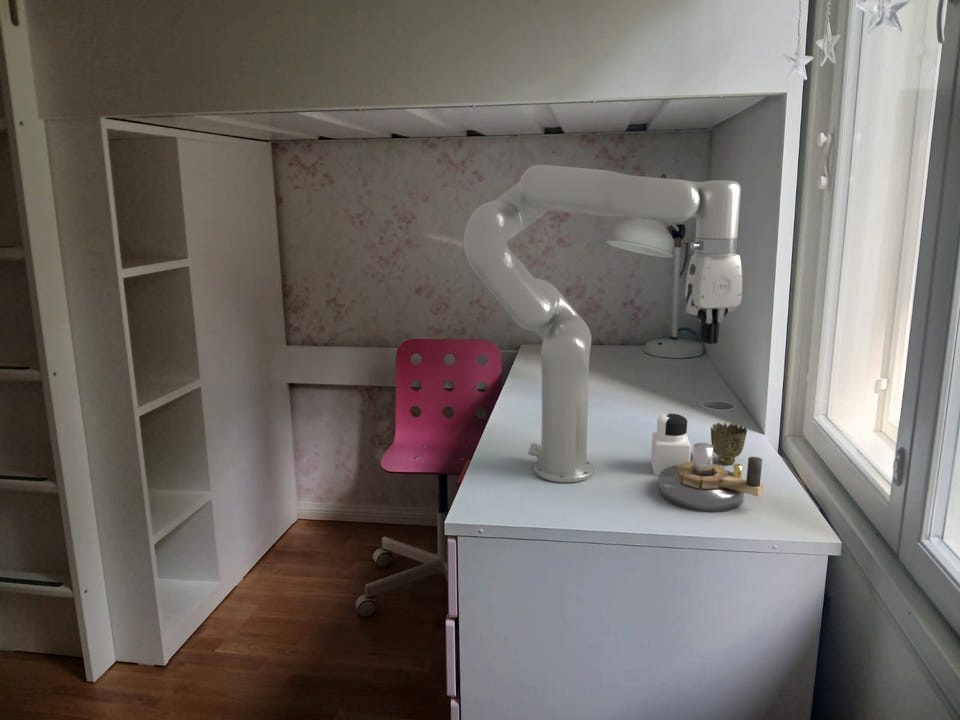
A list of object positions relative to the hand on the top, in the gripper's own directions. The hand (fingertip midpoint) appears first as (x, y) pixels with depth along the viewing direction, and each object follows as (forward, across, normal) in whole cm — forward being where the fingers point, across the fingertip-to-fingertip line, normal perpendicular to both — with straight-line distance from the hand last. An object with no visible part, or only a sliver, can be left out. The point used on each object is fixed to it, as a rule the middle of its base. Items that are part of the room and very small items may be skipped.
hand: (709, 342), depth 141 cm
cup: (+29, +11, +6) cm, 32 cm away
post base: (+29, -4, -6) cm, 30 cm away
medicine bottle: (+29, -2, +7) cm, 30 cm away
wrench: (+26, -2, -9) cm, 27 cm away
